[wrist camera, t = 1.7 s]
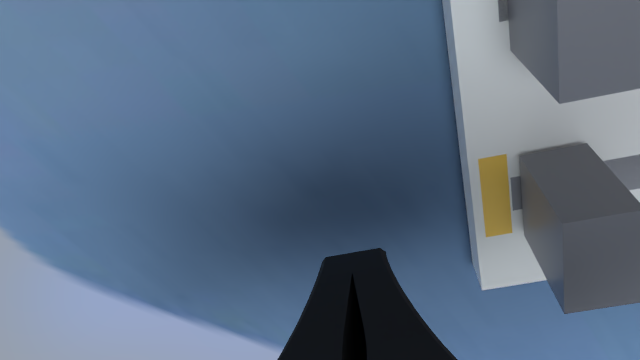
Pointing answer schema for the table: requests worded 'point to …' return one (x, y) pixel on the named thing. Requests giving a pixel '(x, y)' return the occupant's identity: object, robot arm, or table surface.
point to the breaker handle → (581, 228)
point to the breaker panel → (537, 107)
